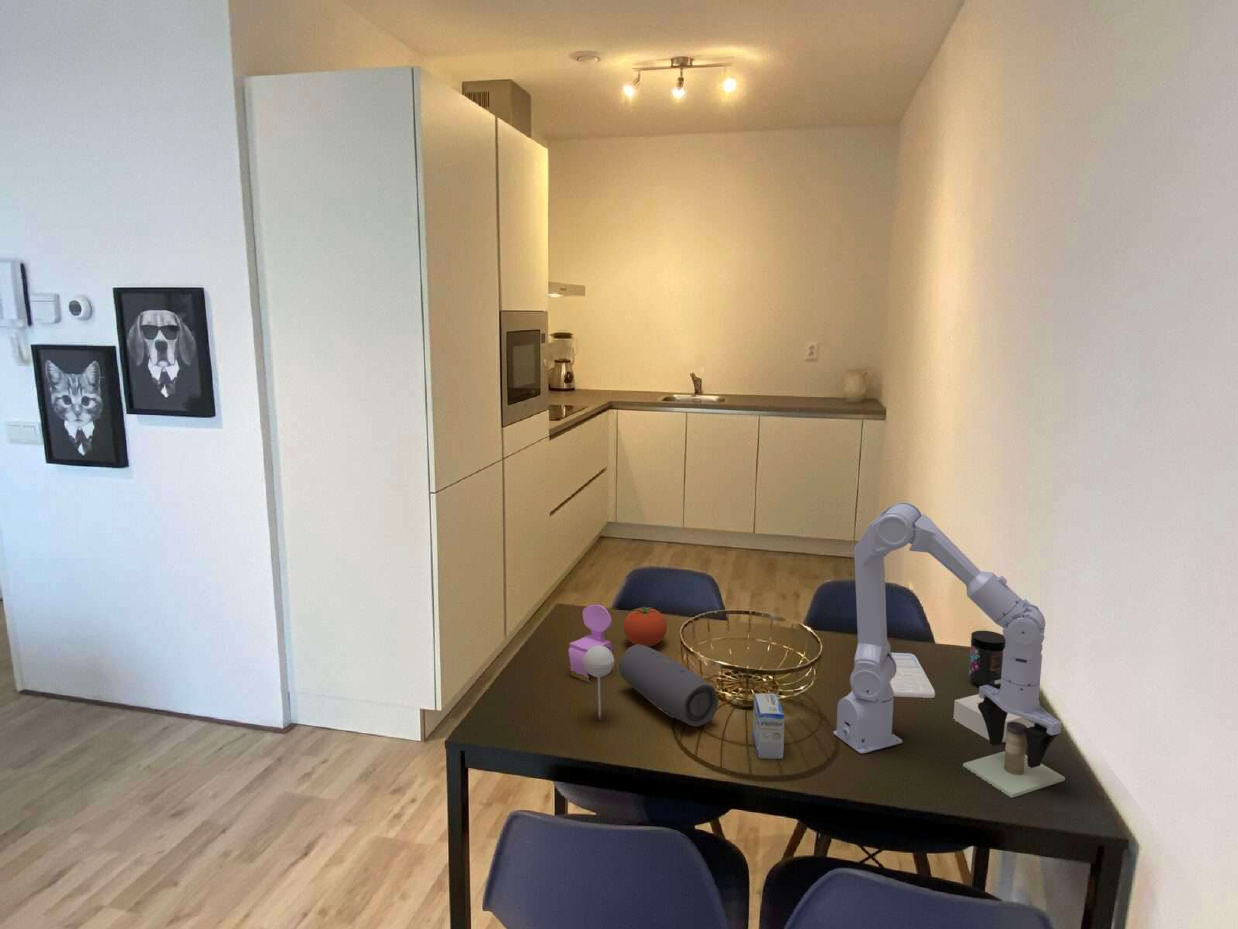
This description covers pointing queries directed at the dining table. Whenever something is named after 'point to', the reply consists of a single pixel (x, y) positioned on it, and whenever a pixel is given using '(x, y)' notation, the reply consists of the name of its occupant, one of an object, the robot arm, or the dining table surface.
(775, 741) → the medicine box
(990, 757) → the sage board
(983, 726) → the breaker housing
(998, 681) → the supplement container
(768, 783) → the dining table surface
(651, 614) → the tomato
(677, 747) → the dining table surface
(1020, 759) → the tan lidded jar
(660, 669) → the bluetooth speaker
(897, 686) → the calculator
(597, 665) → the lollipop
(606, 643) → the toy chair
